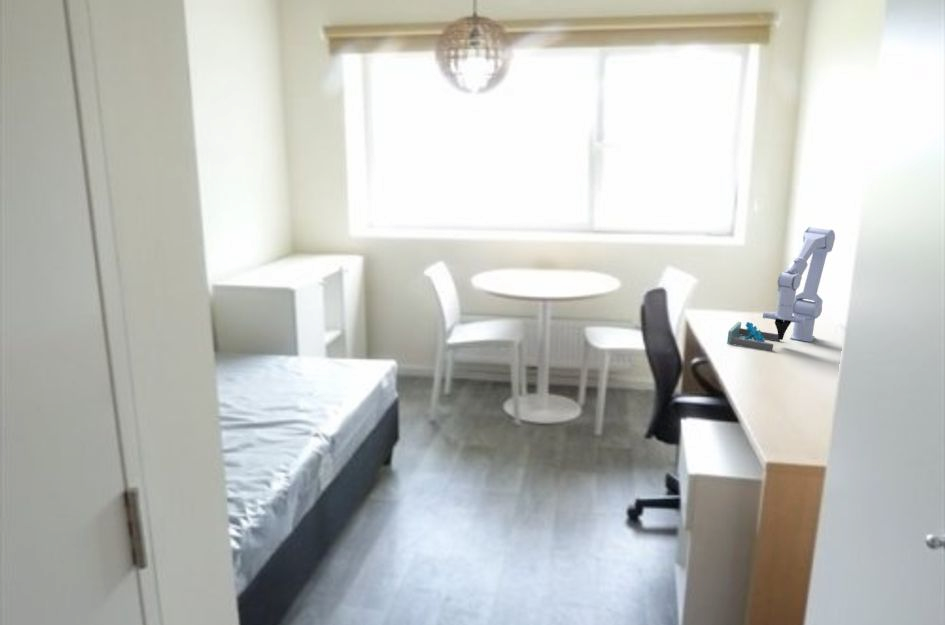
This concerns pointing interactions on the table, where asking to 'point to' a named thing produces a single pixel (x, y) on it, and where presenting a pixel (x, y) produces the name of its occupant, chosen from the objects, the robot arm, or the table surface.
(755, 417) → the table surface
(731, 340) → the grey open frame
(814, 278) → the robot arm
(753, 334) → the gear
